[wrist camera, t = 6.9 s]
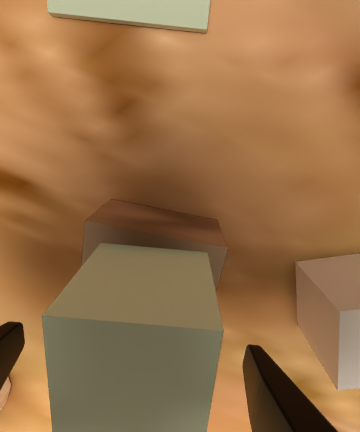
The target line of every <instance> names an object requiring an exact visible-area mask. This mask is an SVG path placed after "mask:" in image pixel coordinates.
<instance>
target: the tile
mask: <svg viewBox="0 0 360 432" xmlns="http://www.w3.org/2000/svg"><path fill="white" fill-rule="evenodd" d="M209 6H210V0H47V9H48V13H49V14H50V15H51V16H53V17H62V18H71V19H81V20H90V21H99V22H108V23H117V24H126V25H136V26H145V27H154V28H163V29H172V30H181V31H191V32H200V33H206V32H207V24H208V15H209Z"/></svg>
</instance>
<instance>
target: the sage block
mask: <svg viewBox="0 0 360 432" xmlns="http://www.w3.org/2000/svg"><path fill="white" fill-rule="evenodd" d="M42 322H43V333H44V344H45V355H46V366H47V377H48V387H49V398H50V409H51V420H52V431H53V432H207V426H208V420H209V414H210V408H211V402H212V396H213V390H214V384H215V378H216V372H217V366H218V360H219V355H220V349H221V343H222V337H223V326H222V321H221V316H220V311H219V306H218V301H217V296H216V291H215V286H214V281H213V276H212V271H211V266H210V261H209V257H208V252H198V251H187V250H175V249H164V248H153V247H142V246H130V245H119V244H108V243H100V245H99V246H98V247H97V248H96V249H95V251H94V252H93V253H92V254H91V256H90V257H89V258H88V259H87V261H86V262H85V263H84V264H83V265H82V267H81V268H80V269H79V270H78V272H77V273H76V274H75V275H74V276H73V278H72V279H71V280H70V281H69V283H68V284H67V285H66V286H65V288H64V289H63V290H62V291H61V292H60V294H59V295H58V296H57V297H56V299H55V300H54V301H53V302H52V303H51V305H50V306H49V307H48V308H47V310H46V311H45V312H44V313H43V315H42Z"/></svg>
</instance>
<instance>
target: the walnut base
mask: <svg viewBox="0 0 360 432" xmlns="http://www.w3.org/2000/svg"><path fill="white" fill-rule="evenodd" d="M100 243H108V244H119V245H130V246H142V247H153V248H164V249H175V250H187V251H198V252H208V257H209V261H210V266H211V271H212V276H213V281H214V286H215V291H216V290H217V286H218V283H219V279H220V276H221V272H222V269H223V265H224V262H225V258H226V255H227V251H228V246H227V244H226V241H225V239H224V236H223V234H222V231H221V228H220V226H219V223H218V221H217V220H215V219H210V218H205V217H200V216H195V215H190V214H185V213H180V212H175V211H170V210H165V209H159V208H154V207H149V206H144V205H139V204H134V203H129V202H124V201H119V200H114V199H111V200H110V201H109V202H107V203H106V204H105V205H104V206H103V207H101V208H100V209H99V210H98V211H97V212H95V213H94V214H93V215H92V216H90V217H89V218H88V219H87V220H86V221H85V229H84V240H83V251H82V262H81V267H82V265H83V264H84V263H85V262H86V261H87V259H88V258H89V257H90V256H91V254H92V253H93V252H94V251H95V249H96V248H97V247H98V246H99V245H100Z"/></svg>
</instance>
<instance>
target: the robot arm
mask: <svg viewBox="0 0 360 432" xmlns="http://www.w3.org/2000/svg"><path fill="white" fill-rule="evenodd" d="M24 344H25V339H24V330H23V324H22V323H20V322H7V323H5V324H3V325H1V326H0V390H1V389H2V387H3V385H4V383H5V381H6V379H7V378H8V376H9V374H10V372H11V370H12V368H13V366H14V365H15V363H16V361H17V359H18V357H19V355H20V353H21V352H22V350H23V347H24ZM243 375H244V382H245V390H246V397H247V404H248V412H249V418H250V424H251V429H252V432H338V431H337V430H336V429H335V428H334V427H333V426H332V425H331V423H330V422H329V421H328V420H327V419H326V418H325V417H324V416H323V415H322V414H321V412H320V411H319V410H318V409H317V408H316V407H315V406H314V405H313V404H312V402H311V401H310V400H309V399H308V398H307V397H306V396H305V395H304V394H303V393H302V391H301V390H300V389H299V388H298V387H297V386H296V385H295V384H294V383H293V382H292V380H291V379H290V378H289V377H288V376H287V375H286V374H285V373H284V372H283V371H282V369H281V368H280V367H279V366H278V365H277V364H276V363H275V362H274V361H273V360H272V358H271V357H270V356H269V355H268V354H267V353H266V352H265V351H264V350H263V349H262V347H260V346H259V345H250V344H249V345H247V347H246V351H245V356H244V360H243Z"/></svg>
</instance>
